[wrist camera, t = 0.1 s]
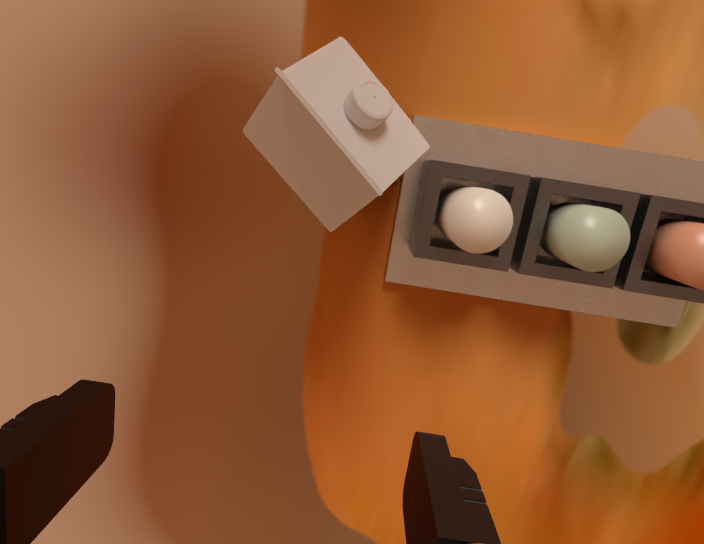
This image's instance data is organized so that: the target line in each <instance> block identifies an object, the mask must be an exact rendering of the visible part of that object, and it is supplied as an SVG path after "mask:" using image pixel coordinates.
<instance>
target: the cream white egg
mask: <svg viewBox="0 0 704 544" xmlns="http://www.w3.org/2000/svg"><path fill="white" fill-rule="evenodd" d="M437 222H438V226H439V228H440V229H441V231H442V232H443V234H445V235H446V236H447V237H448V238H449V239H450V240H451V241H452V242H454V243H455V244H456V245H457V246H458V247H460V248H461V249H463V250H465V251H467V252H470V253H476V254H481V253H487V252H490V251H492V250H495V249H496V248H498V247H499V246H501V245H502V244H503V243H504V242H505V240H506V239H507V238H508V236H509V234H510V232H511V229H512V226H513V213H512V209H511V207H510V205H509V203H508V201H507V200H506V199H505V198H504V197H503V196H502V195H501V194H499V193H498V192H496V191H493V190H490V189H485V188H479V187H473V186H460V187H456V188H454V189H452V190H450V191H449V192H448V193H446V194H445V195H444V196H443V198H442V199H441V201H440V203H439V205H438V208H437Z"/></svg>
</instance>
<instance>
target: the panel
mask: <svg viewBox="0 0 704 544" xmlns="http://www.w3.org/2000/svg"><path fill="white" fill-rule="evenodd" d="M412 123H413V124H414V125H415V127H416V128H417V129H418V130H419V132H420V133H421V134H422V136H423V137H424V138H425V140H426V141H427V142H428V144H429V146H430V148H429V149H428V150H427V151H426V152H425V153H424V154H423V155H421V156H420V157H419V158H418V159H417V160H416V161H415V162H414V163H413V164H412V165H411V166H410V167H409V168H408V169H407V170H406V171H405V172H404V173H403V178H402V184H401V189H400V195H399V201H398V206H397V212H396V218H395V223H394V229H393V234H392V240H391V246H390V251H389V257H388V262H387V268H386V274H385V281H387V282H393V283H399V284H405V285H412V286H418V287H424V288H430V289H437V290H443V291H449V292H455V293H462V294H468V295H474V296H480V297H487V298H493V299H499V300H505V301H512V302H518V303H524V304H530V305H537V306H543V307H549V308H555V309H562V310H568V311H574V312H581V313H587V314H593V315H599V316H606V317H612V318H618V319H624V320H630V321H637V322H643V323H649V324H655V325H662V326H668V327H674V328H678V325H679V322H680V319H681V316H682V313H683V310H684V307H685V304H686V301H692V302H698V303H704V290H701V289H697V288H694V287H692V286H689V285H686V284H683V283H681V282H678V281H675V280H673V279H670V278H667V277H664V276H662V275H659V274H656V273H653V272H651V271H649V270H647V269H646V268H645V267H644V266H645V263H646V259H647V256H648V253H649V250H650V246H651V243H652V240H653V237H654V233H655V230H656V227H657V224H658V221H660V220H663V219H679V220H685V221H691V222H697V223H703V224H704V162H702V161H695V160H690V159H683V158H677V157H671V156H665V155H659V154H652V153H646V152H640V151H633V150H627V149H621V148H615V147H609V146H603V145H597V144H590V143H584V142H578V141H572V140H566V139H559V138H553V137H547V136H541V135H534V134H528V133H522V132H516V131H510V130H503V129H497V128H491V127H485V126H479V125H472V124H466V123H460V122H454V121H448V120H441V119H435V118H429V117H423V116H417V115H414V117H413V122H412ZM460 186H473V187H479V188H485V189H490V190H493V191H496V192H498V193H499V194H501V195H502V196H503V197H504V198H505V199H506V200H507V201H508V203H509V205H510V207H511V209H512V213H513V226H512V229H511V232H510V234H509V236H508V238H507V239H506V240H505V242H504V243H503V244H502V245H501V246H499V247H498V248H496V249H495V250H492V251H490V252H487V253H481V254H476V253H470V252H467V251H465V250H463V249H461V248H460V247H458V246H457V245H456V244H455V243H454V242H452V241H451V240H450V239H449V238H448V237H447V236H446V235H445V234H443V232H442V231H441V229H440V228H439V226H438V222H437V208H438V205H439V203H440V201H441V199H442V198H443V196H444V195H445V194H446V193H448V192H449V191H450V190H452V189H454V188H456V187H460ZM564 202H573V203H579V204H585V205H591V206H597V207H603V208H608V209H612V210H614V211H616V212H618V213H619V214H620V215H622V217H623V218H624V219H625V220H626V222H627V224H628V226H629V229H630V243H629V247H628V250H627V251H626V253H625V255H624V256H623V258H622V259H621V260H620V261H619V262H618V263H617V264H615V265H614V266H612V267H611V268H609V269H606V270H603V271H599V272H588V271H584V270H581V269H579V268H577V267H574V266H572V265H570V264H568V263H566V262H564V261H562V260H560V259H558V258H555V257H553V256H551V255H549V254H548V253H546V252H545V251H544V250H543V249H542V247H541V246H540V240H541V236H542V233H543V229H544V225H545V221H546V217H547V213H548V210H549V209H550V208H551V207H553V206H555V205H557V204H560V203H564Z"/></svg>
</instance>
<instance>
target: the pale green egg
mask: <svg viewBox="0 0 704 544" xmlns="http://www.w3.org/2000/svg"><path fill="white" fill-rule="evenodd" d="M629 243H630V229H629V226H628V224H627V222H626V220H625V219H624V218H623V217H622V215H620V214H619V213H618V212H616V211H614V210H612V209H608V208H603V207H597V206H591V205H585V204H579V203H573V202H564V203H560V204H557V205H555V206H553V207H551V208H550V209H549V210H548V213H547V217H546V221H545V225H544V229H543V233H542V236H541V240H540V246H541V247H542V249H543V250H544V251H545V252H546V253H548V254H549V255H551V256H553V257H555V258H558V259H560V260H562V261H564V262H566V263H568V264H570V265H572V266H574V267H577V268H579V269H581V270H584V271H588V272H599V271H603V270H606V269H609V268H611V267H612V266H614V265H615V264H617V263H618V262H619V261H620V260H621V259H622V258H623V256H624V255H625V253H626V251H627V250H628V247H629Z"/></svg>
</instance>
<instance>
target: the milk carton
mask: <svg viewBox="0 0 704 544" xmlns="http://www.w3.org/2000/svg"><path fill="white" fill-rule="evenodd" d="M275 71H276V73H277V74H278V76H277V78H276V79H275V81H274V82H273V84H272V85H271V87H270V88H269V90H268V92H267V93H266V95H265V96H264V98H263V99H262V101H261V102H260V104H259V105H258V107H257V109H256V110H255V112H254V113H253V115H252V116H251V118H250V119H249V121H248V122H247V124H246V125H245V127H244V129H243V130H242V131H243V133H244V134H245V135H246V137H247V138H248V139H249V140H250V141H251V143H252V144H253V145H254V146H255V147H256V148H257V150H258V151H259V152H260V153H261V154H262V155H263V156H264V157H265V159H266V160H267V161H268V162H269V163H270V164H271V165H272V167H273V168H274V169H275V170H276V171H277V172H278V174H279V175H280V176H281V177H282V178H283V179H284V180H285V182H286V183H287V184H288V185H289V186H290V187H291V189H292V190H293V191H294V192H295V193H296V194H297V195H298V197H299V198H300V199H301V200H302V201H303V202H304V203H305V205H306V206H307V207H308V208H309V209H310V210H311V212H312V213H313V214H314V215H315V216H316V217H317V218H318V220H319V221H320V222H321V223H322V224H323V225H324V226H325V227H326V228H327V230H328V231H330V232H332V231H334V230H335V229H336V228H337V227H339V226H340V225H341V224H343V223H344V222H345V221H347V220H348V219H349V218H350V217H352V216H353V215H354V214H356V213H357V212H358V211H360V210H361V209H362V208H363V207H365V206H366V205H367V204H369V203H370V202H371V201H372V200H374V199H375V198H376V197H378V196H381V195H382V194H383V192H384V191H385V190H386V189H387V188H388V187H389V186H390V185H391V184H392V183H393V182H394V181H395V180H396V179H397V178H398V177H399V176H400V175H401V174H403V173H404V172H405V171H406V170H407V169H408V168H409V167H410V166H411V165H412V164H413V163H414V162H415V161H416V160H417V159H418V158H419V157H420V156H421V155H423V154H424V153H425V152H426V151H427V150H428V149H429V148H430V146H429V144H428V142H427V141H426V140H425V138H424V137H423V136H422V134H421V133H420V132H419V130H418V129H417V128H416V127H415V125H414V124H413V123H412V122H411V120H410V119H409V118H408V117H407V115H406V114H405V113H404V112H403V110H402V109H401V108H400V107H399V105H398V104H397V103H396V102H395V100H394V99H393V98H392V97H391V95H390V94H389V92H388V91H387V89H386V88H385V87H384V86H383V85H382V84H381V83H380V81H379V80H378V79H377V78H376V76H375V75H374V74H373V73H372V71H371V70H370V69H369V68H368V66H367V65H366V64H365V63H364V61H363V60H362V59H361V58H360V56H359V55H358V54H357V53H356V52H355V50H354V49H353V48H352V47H351V46H350V44H349V43H348V42H347V41H346V40H345V39H344V38H343V37H339V38H337V39H335V40H334V41H332V42H330V43H329V44H327V45H325V46H323V47H322V48H320V49H318V50H317V51H315V52H313V53H312V54H310V55H308V56H307V57H305V58H303V59H301V60H300V61H298V62H296V63H295V64H293V65H291V66H290V67H288V68H286V69H285V70H283V71H281V69H280V68H278V67H276V68H275Z"/></svg>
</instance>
